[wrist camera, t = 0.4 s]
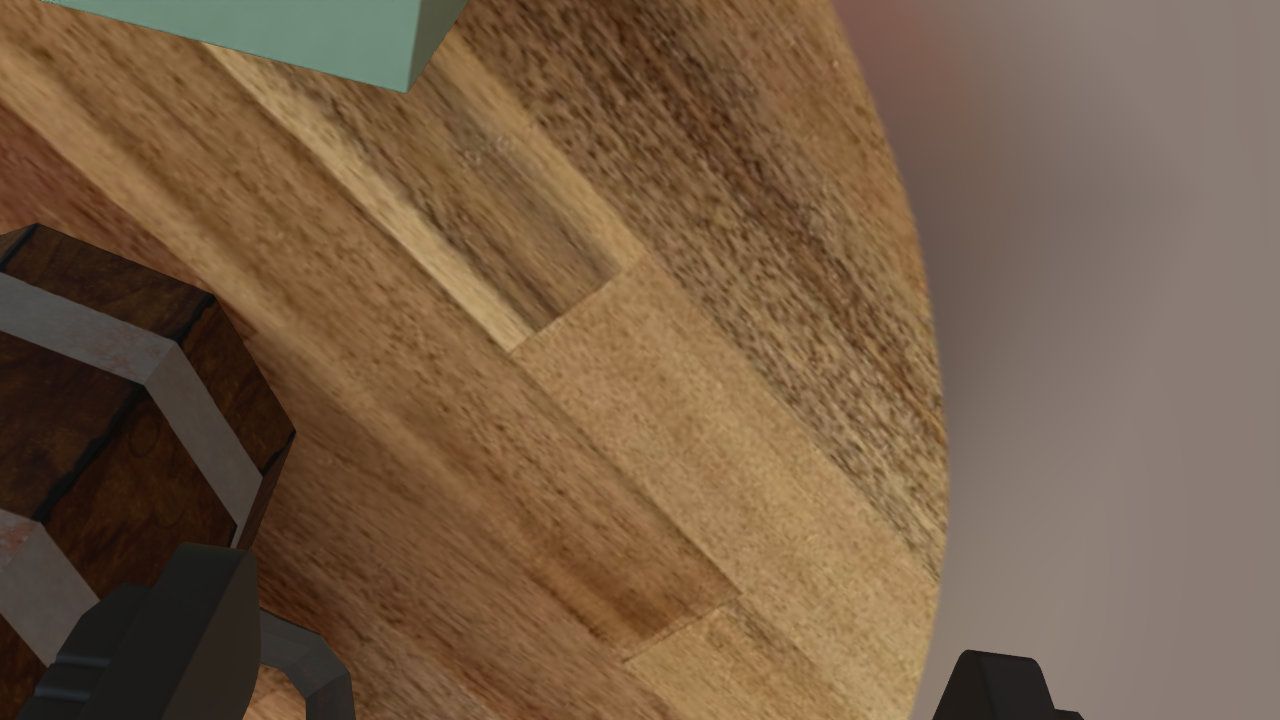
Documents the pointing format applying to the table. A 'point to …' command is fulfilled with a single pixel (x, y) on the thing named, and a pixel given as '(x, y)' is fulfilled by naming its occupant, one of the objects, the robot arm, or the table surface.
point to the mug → (127, 452)
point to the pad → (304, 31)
